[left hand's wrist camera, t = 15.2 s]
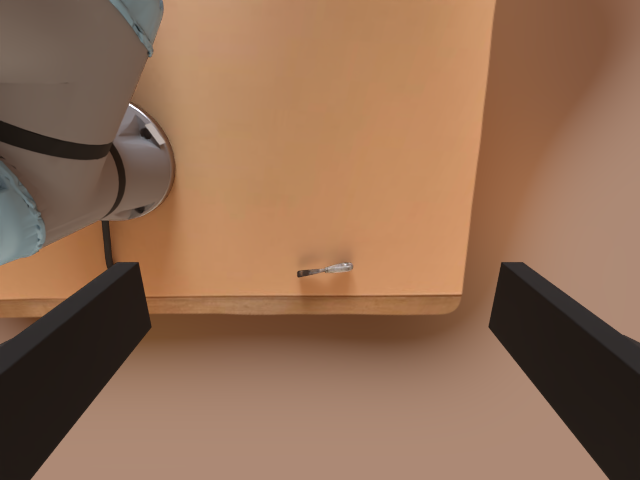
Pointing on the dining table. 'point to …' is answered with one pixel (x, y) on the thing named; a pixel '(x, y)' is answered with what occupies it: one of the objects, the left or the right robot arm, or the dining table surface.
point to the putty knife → (327, 269)
